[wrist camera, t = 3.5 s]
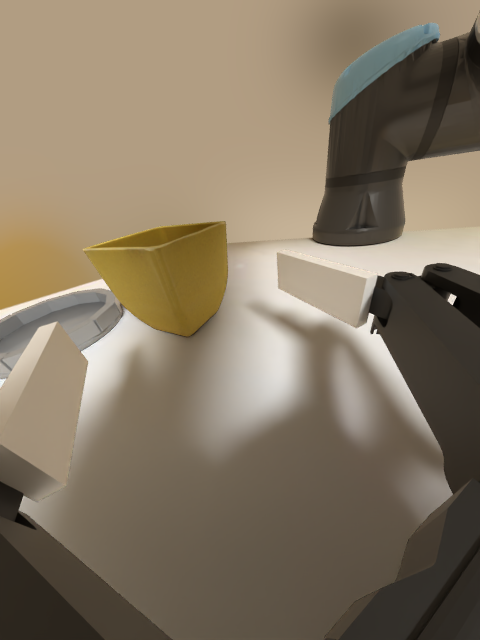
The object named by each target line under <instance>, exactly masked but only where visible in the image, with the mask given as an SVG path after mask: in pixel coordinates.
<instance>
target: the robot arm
mask: <svg viewBox="0 0 480 640" xmlns="http://www.w3.org/2000/svg"><path fill="white" fill-rule="evenodd" d="M439 37H440V33H439V26H438V25H437V24H436V23H428V24H426V25H424V26H422V25H419V26H416V27H413V28H410V29H408V30H406V31H404V32H401V33H399V34H397V35H395V36H393V37H391V38H389V39H387V40H385V41H383V42H382V43H380V44H378V45H377V46H375V47H374V48H372V49H370V50H369V51H367V52H366V53H365V54H363V55H362V56H360V57H359V58H358V59H357V60H355V61H354V62H353V63H352V64H351V65H349V66H348V67H347V68H346V69H345V70H344V71H343V73H342V74H341V75H340V77H339V78H338V80H337V82H336V84H335V87H334V90H333V97H332V106H331V115H330V118H329V124H330V134H329V146H328V159H327V172H326V185H325V194H324V197H323V200H322V203H321V206H320V209H319V213H318V216H317V221H316V222H315V223H314V226H313V239H314V240H315V241H317V242H320V243H324V244H331V245H367V244H376V243H382V242H386V241H390V240H393V239H396V238H398V237H400V236H401V235H402V232H403V228H404V224H405V212H404V201H403V190H402V182H403V177H404V173H405V169H406V165H407V162H408V161H412V160H418V159H425V158H431V157H438V156H445V155H452V154H459V153H465V152H472V151H480V12H479V14H478V16H477V19H476V21H475V23H474V25H473V27H472V29H471V31H470V32H469V33H466V34H463V35H461V36H458V37H455V38H452V39H449V40H446V41H443V42H437V41H438V40H439ZM277 267H278V288H279V289H281V290H283V291H285V292H287V293H289V294H290V295H292V296H294V297H296V298H298V299H300V300H302V301H304V302H306V303H308V304H310V305H312V306H314V307H316V308H318V309H320V310H322V311H324V312H326V313H328V314H329V315H331V316H333V317H335V318H337V319H339V320H341V321H343V322H345V323H347V324H349V325H351V326H353V327H355V328H358V327H360V326H362V325H364V324H365V323H367V318H368V314H369V313H371V314H374V319H373V323H372V327H371V331H370V333H371V334H373V332H374V330H375V329H377V333H376V334H380V335H381V337H382V339H383V341H384V342H385V344H386V346H387V348H388V350H389V352H390V354H391V355H392V357H393V359H394V361H395V363H396V365H397V367H398V368H399V370H400V372H401V374H402V376H403V378H404V380H405V382H406V383H407V385H408V387H409V389H410V391H411V393H412V395H413V396H414V398H415V400H416V402H417V404H418V406H419V408H420V409H421V411H422V413H423V415H424V417H425V419H426V421H427V423H428V424H429V426H430V428H431V430H432V432H433V434H434V436H435V437H436V439H437V441H438V443H439V445H440V447H441V449H442V451H443V455H444V472H445V476H446V480H447V482H448V484H449V487H450V489H451V491H452V493H453V496H451V497H450V498H449V499H448V500H447V501H446V502H444V503H443V504H442V505H441V506H440V507H439V508H437V509H436V510H435V511H434V512H433V513H432V514H430V515H429V516H428V518H427V519H426V520H425V521H424V522H423V523H422V525H421V526H420V527H419V528H418V529H417V530H416V532H415V533H414V534H413V535H412V536H411V537H410V538H409V540H408V542H407V546H406V549H405V552H404V556H403V559H402V562H401V566H400V569H399V572H398V575H397V579H396V581H395V583H393V584H390V585H388V586H386V587H384V588H381V589H379V590H377V591H375V592H373V593H371V594H369V595H367V596H365V597H363V598H361V599H359V600H357V601H355V602H354V603H353V605H352V606H351V607H350V608H349V609H348V610H347V612H346V613H345V614H344V615H343V616H342V617H341V618H340V620H339V621H338V622H337V623H336V624H335V625H334V627H333V628H332V629H331V630H330V631H329V632H328V634H327V635H326V636H325V637H324V638H325V640H480V275H478V274H475V273H473V272H470V271H467V270H464V269H462V268H459V267H456V266H452V265H449V264H445V263H436V264H430V265H427V266H425V268H424V270H423V273H422V276H416V275H414V274H412V273H407V272H390V273H387V274H386V275H385V276H384V277H382V276H378V273H374V272H370V271H366V270H362V269H359V268H355V267H351V266H347V265H343V264H340V263H336V262H332V261H328V260H324V259H320V258H317V257H313V256H309V255H305V254H301V253H298V252H294V251H290V250H286V249H285V250H282V251H279V252H277ZM450 294H453V295H455V296H457V297H456V299H455V302H454V304H453V306H452V305H451V304H450V303H449V302H448V298H449V296H450ZM87 366H88V361H87V359H86V358H85V357H84V355H83V354H82V353H81V352H80V350H79V349H78V348H77V346H76V345H75V344H74V342H73V341H72V340H71V338H70V337H69V336H68V334H67V333H66V332H65V330H64V329H63V328H62V327H61V325H60V324H59V323H58V321H57V322H54V323H51V324H48V325H44V326H41V327H39V328H38V329H37V331H36V333H35V334H34V336H33V337H32V339H31V341H30V342H29V344H28V345H27V347H26V349H25V350H24V352H23V353H22V355H21V357H20V358H19V360H18V361H17V363H16V365H15V366H14V368H13V369H12V371H11V373H10V374H9V376H8V377H7V379H6V381H5V382H4V384H3V385H2V387H1V389H0V640H172V639H171V638H170V637H169V636H167V635H166V634H165V633H164V632H163V631H162V630H160V629H159V628H158V627H157V626H156V625H155V624H153V623H152V622H151V621H150V620H149V619H148V618H147V617H145V616H144V615H143V614H142V613H141V612H140V611H138V610H137V609H136V608H135V607H134V606H133V605H131V604H130V603H129V602H128V601H127V600H126V599H124V598H123V597H122V596H121V595H120V594H119V593H117V592H116V591H115V590H114V589H113V588H112V587H110V586H109V585H108V584H107V583H106V582H105V581H104V580H102V579H101V578H100V577H99V576H98V575H97V574H95V573H94V572H93V571H92V570H91V569H90V568H88V567H87V566H86V565H85V564H84V563H83V562H81V561H80V560H79V559H78V558H77V557H76V556H74V555H73V554H72V553H71V552H70V551H69V550H67V549H66V548H65V547H64V546H63V545H62V544H61V543H59V542H58V541H57V540H56V539H55V538H54V537H52V536H51V535H50V534H49V533H48V532H47V531H45V530H44V529H43V528H42V527H41V526H40V525H38V524H37V523H36V522H35V521H34V520H33V519H31V518H30V517H29V516H28V515H27V514H25V513H23V512H20V511H18V510H19V507H20V504H21V501H22V497H23V495H24V496H26V497H28V498H30V499H32V500H34V501H36V502H39V501H40V500H42V499H44V498H46V497H48V496H50V495H51V494H53V493H55V492H57V491H59V490H61V489H62V488H64V487H66V486H67V480H68V474H69V469H70V463H71V457H72V451H73V446H74V440H75V434H76V429H77V423H78V417H79V411H80V406H81V400H82V394H83V389H84V383H85V377H86V372H87Z"/></svg>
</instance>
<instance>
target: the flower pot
mask: <svg viewBox="0 0 480 640" xmlns="http://www.w3.org/2000/svg"><path fill="white" fill-rule="evenodd" d="M83 251H84V252H85V253H86V255H87V256H88V258H89V259H90V261H91V262H92V264H93V265H94V266H95V268H96V269H97V271H98V272H99V274H100V275H101V277H102V278H103V279H104V281H105V282H106V284H107V285H108V287H109V288H110V290H111V291H112V292H113V294H114V295H115V297H116V298H117V299H118V300H119V301H120V303H121V304H122V305H123V306H124V307H125V308H126V309H127V310H128V311H130V312H131V313H132V314H133V315H134V316H136V317H137V318H138V319H140V320H141V321H143V322H144V323H146V324H147V325H149V326H151V327H152V328H154V329H157V330H162V331H166V332H170V333H174V334H178V335H182V336H191V335H192V334H194V333H195V332H196V331H197V330H198V329H199V328H200V327H201V326H202V325H203V324H204V323H205V322H206V321H207V320H209V319H210V318H211V317H212V316H213V315H214V314H215V313H216V312H217V311H218V309H219V306H220V304H221V302H222V299H223V296H224V293H225V289H226V284H227V277H228V262H227V239H226V222H225V221H220V222H207V223H197V224H184V225H172V226H161V227H157V228H153V229H149V230H145V231H142V232H138V233H134V234H130V235H127V236H124V237H120V238H117V239H113V240H110V241H107V242H103V243H100V244H96V245H93V246H90V247H87V248H84V249H83Z"/></svg>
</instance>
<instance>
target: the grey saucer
mask: <svg viewBox="0 0 480 640" xmlns="http://www.w3.org/2000/svg"><path fill="white" fill-rule="evenodd" d="M122 312H123V311H122V308H121V306H120V301H119V300H118V299H117V298H116V297H115V295H114V294H113V292H112V291H110V290H105V289H92V290H84V291H77V292H73V293H69V294H66V295H62V296H59V297H55V298H51V299H48V300H46V301H42V302H40V303H37V304H35V305H32V306H30V307H27V308H25V309H22V310H20V311H17V312H15V313H12V315H8V316H6V317H5V318H3V319H1V320H0V379H4V378H7V377H8V376H9V374H10V373H11V371H12V369H13V368H14V366H15V365H16V363H17V361H18V360H19V358H20V357H21V355H22V353H23V352H24V350H25V349H26V347H27V345H28V344H29V342H30V341H31V339H32V337H33V336H34V334H35V333H36V331H37V329H38V328H39V327H41V326H44V325H48V324H51V323H54V322H57V321H58V323H59V324H60V325H61V327H62V328H63V329H64V330H65V332H66V333H67V334H68V336H69V337H70V338H71V340H72V341H73V342H74V344H75V345H76V346H77V348H78V349H79V350H80V351H82V350H83V349H85V348H87V347H89V346H90V345H92V344H93V343H95V342H96V341H98V340H99V339H100V338H102V337H103V336H104V335H106V334H107V333H108V332H109V331H110V330H111V329H112V328H113V327H114V326H115V325H116V324H117V323H118V322H119V320H120V318H121V316H122Z"/></svg>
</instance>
